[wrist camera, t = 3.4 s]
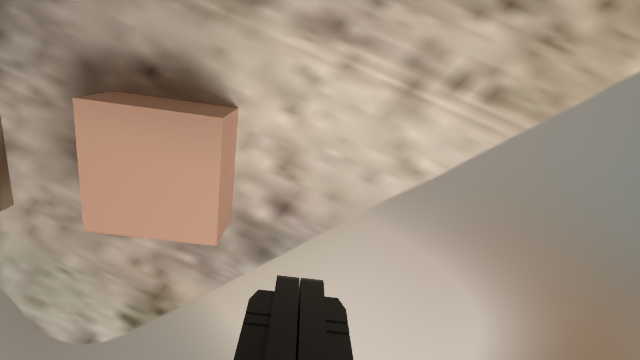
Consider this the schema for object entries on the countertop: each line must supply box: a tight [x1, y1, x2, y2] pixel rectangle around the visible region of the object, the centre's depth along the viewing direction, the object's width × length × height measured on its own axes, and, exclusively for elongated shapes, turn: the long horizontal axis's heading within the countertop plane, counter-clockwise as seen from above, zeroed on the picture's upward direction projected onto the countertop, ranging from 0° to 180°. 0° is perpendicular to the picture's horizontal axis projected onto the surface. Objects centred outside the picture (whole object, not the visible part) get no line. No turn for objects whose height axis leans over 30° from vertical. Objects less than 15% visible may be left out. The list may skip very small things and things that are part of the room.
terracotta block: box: [72, 91, 238, 246], centre depth 23 cm, size 8×8×4 cm
